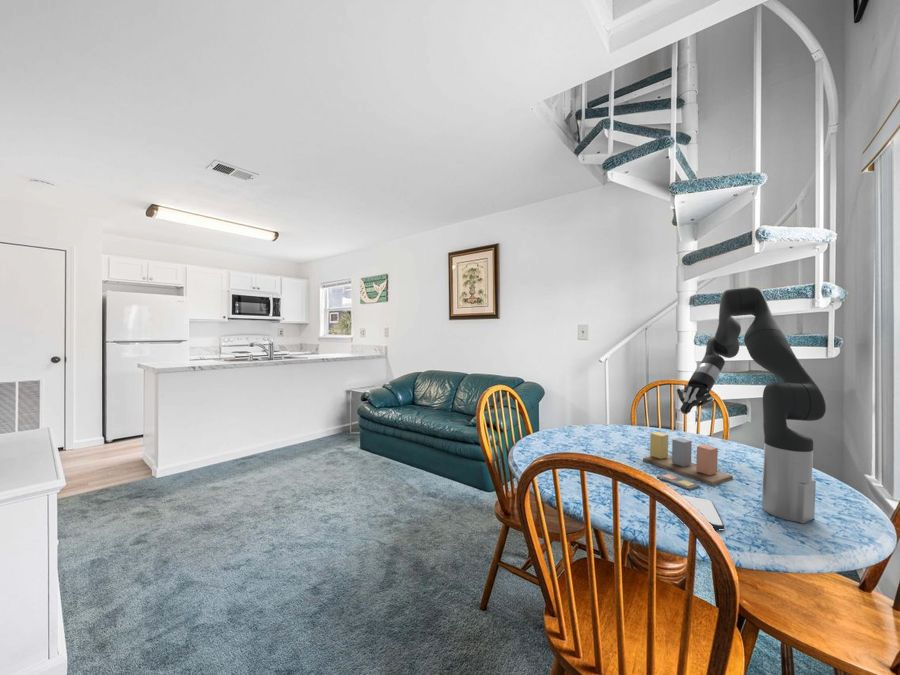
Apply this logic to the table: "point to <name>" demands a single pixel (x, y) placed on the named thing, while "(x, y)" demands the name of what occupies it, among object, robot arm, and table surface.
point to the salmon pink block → (706, 459)
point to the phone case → (707, 511)
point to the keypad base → (689, 470)
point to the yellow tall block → (659, 445)
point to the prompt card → (678, 481)
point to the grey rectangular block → (681, 451)
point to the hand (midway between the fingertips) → (683, 412)
